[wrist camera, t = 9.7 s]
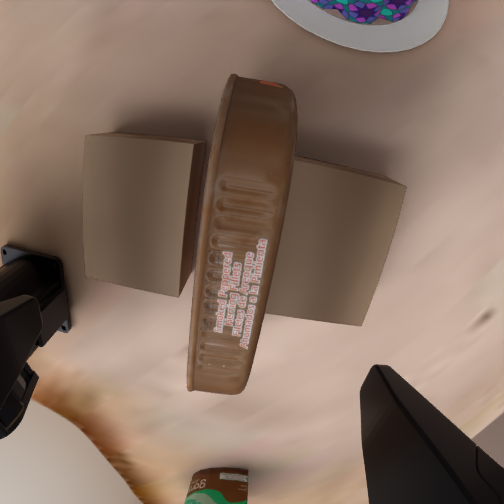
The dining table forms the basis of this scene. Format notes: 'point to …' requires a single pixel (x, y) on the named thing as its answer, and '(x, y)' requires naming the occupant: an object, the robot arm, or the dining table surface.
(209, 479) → the food container
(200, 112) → the dining table surface
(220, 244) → the tin
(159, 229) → the slotted rail
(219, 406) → the dining table surface
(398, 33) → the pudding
